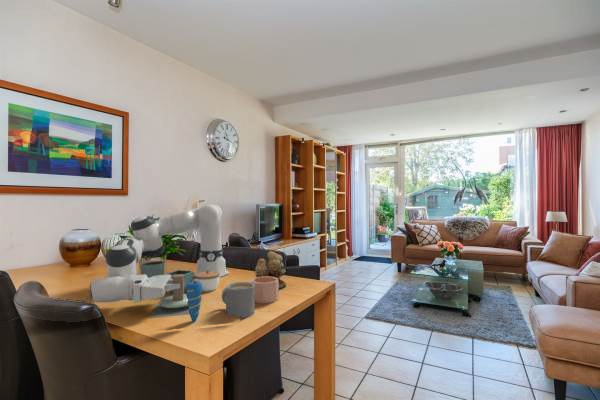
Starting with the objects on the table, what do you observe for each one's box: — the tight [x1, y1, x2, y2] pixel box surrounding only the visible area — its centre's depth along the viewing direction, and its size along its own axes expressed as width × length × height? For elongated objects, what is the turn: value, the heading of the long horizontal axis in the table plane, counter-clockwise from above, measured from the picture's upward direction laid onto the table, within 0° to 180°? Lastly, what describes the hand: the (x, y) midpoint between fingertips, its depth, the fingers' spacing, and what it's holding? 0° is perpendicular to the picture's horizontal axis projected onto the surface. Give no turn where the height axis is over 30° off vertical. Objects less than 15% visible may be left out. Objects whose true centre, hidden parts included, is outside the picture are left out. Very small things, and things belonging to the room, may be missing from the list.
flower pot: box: [164, 269, 195, 294], centre depth 134 cm, size 9×9×9 cm
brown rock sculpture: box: [254, 251, 287, 291], centre depth 141 cm, size 18×12×17 cm, turn 137°
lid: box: [159, 274, 188, 308], centre depth 114 cm, size 13×13×10 cm
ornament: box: [185, 278, 203, 323], centre depth 100 cm, size 5×5×15 cm
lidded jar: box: [194, 270, 221, 293], centre depth 136 cm, size 11×11×9 cm
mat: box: [149, 297, 203, 319], centre depth 115 cm, size 20×16×1 cm
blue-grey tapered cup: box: [139, 260, 165, 278], centre depth 142 cm, size 10×10×12 cm
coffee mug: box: [221, 281, 255, 319], centre depth 110 cm, size 13×10×10 cm
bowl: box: [250, 276, 280, 305], centre depth 124 cm, size 11×11×8 cm
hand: (180, 283), depth 115 cm, fingers closed on lid, 3 cm apart
